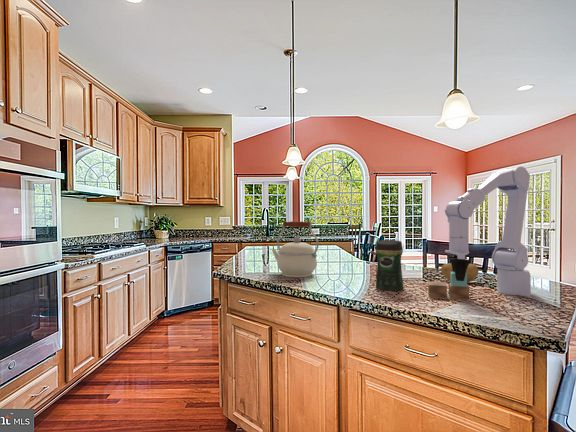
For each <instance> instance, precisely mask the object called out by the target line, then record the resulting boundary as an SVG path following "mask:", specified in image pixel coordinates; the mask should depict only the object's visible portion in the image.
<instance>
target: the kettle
mask: <svg viewBox="0 0 576 432" xmlns="http://www.w3.org/2000/svg"><path fill="white" fill-rule="evenodd" d="M312 225H313V224H312V221H292V220H291V221H286V220H285V221H283V223H282V230H281V231H280V233H279V235H278V236H277V239H276V245H277V248H278V251H277V250H276V249H271V252H272V254H273V256H274V259H275V260H276V262H277V263H276V264H277V269H279V271H280V272H281V275H282V276H283V277H287V278H296V279H297V278H298V279H299V278H309V277H311V276H312V275H313V272H314V271H315V270H316V268H317V265H318V260H317V257H318V255H317V252H318V249H319V244H320V243H319V239H318V237H317V236H316V234H315V233H314V232H313V230H312V229H313V228H312ZM286 227H291V228H304V227H307V228H309V232H310V233H311V234H312V236H313V237H314V239H315V241H316V247H315V248H314V247H313V246H312V245H311V244H310V243H307V242H301V241H302V239H301V237H299V236H295V237H293V239H292V241H293V242H287V243H285V244H283V245H282V246H281V247H280V238H281V236H282V235H283V233H284V232H285V230H286Z"/></svg>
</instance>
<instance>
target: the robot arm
mask: <svg viewBox="0 0 576 432" xmlns="http://www.w3.org/2000/svg"><path fill="white" fill-rule="evenodd" d="M530 177H531V175H530V173H529V171H528V170H527V169H526V168H525V167H524V166H517V167H510V168H505V169H504V168H502V169H496V170H494V171H493V172H491V173H490V175H489V177H488V178H487V179H485V181H484V182H483V183H481V184H480V185H479V186H478V187H473V188H472V187H470V188H468V189H467V190H466V192H465V193H464V194H463V195H461V196H458V197H457V199H456V201H450V202H448V204H447V205H446V206H445V207H446V208H445V209H444V213H445V216H446V217H447V223H448V225H449V226H448V246H449V247H448V249H445V251H444V253H447V254H451V255H448V259H449V261H450V262H449V263H451V265H452V270H453V272H455V277H456V280H457V281H464V279H465V274H466V270H467V267H468V265H469V264H471V259H467V255H469V254H470V251H469V243H470V242H469V238H470V237H469V233H470V232H469V230H470V229H469V228H470V227H469V218H472V216H473V213H474V210H476V208H477V207H478V206H480V205H481V204H482V203H484V202H485V201H486V196H487V195H489V194H490V193H491V192H493V191H494V190H496V189H498V190H499V191H500V192H502V193H503V194H505V195H506V196H507V197H508V198H507V205H506V211H505V219H504V227H503V233H502V240H501V241H499V242H497V243H496V244H495V246H494V249H493V251H492V255H491V261H492V263H493V265H495V268H497V282H496V283H497V287H496V288H497V292H498V293H499V294H503V295H508V296H509V295H510V296H521V297H529V298H531V297H532V296H531V295H532V294H531V293H532V292H531V287H532V286H531V285H532V284H531V273H530V271H529V270H528V269H525V268H527V266H528V264H529V257H528V256H529V255H528V247H526V245H524V244H523V243H522V241H521V240H522V232H523V227H524V219H525V212H526V205H527V199H528V192H529V188H530V187H529V186H530V185H529V184H530Z"/></svg>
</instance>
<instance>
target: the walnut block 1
mask: <svg viewBox="0 0 576 432" xmlns="http://www.w3.org/2000/svg"><path fill="white" fill-rule="evenodd" d="M427 293H428V296H429V297H428V298H430V297H436V298H435V299H444V298H447V296H448V285H447V284H446V282H439V281H438V282H437V281H436V282H435V281H428V282H427Z"/></svg>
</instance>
